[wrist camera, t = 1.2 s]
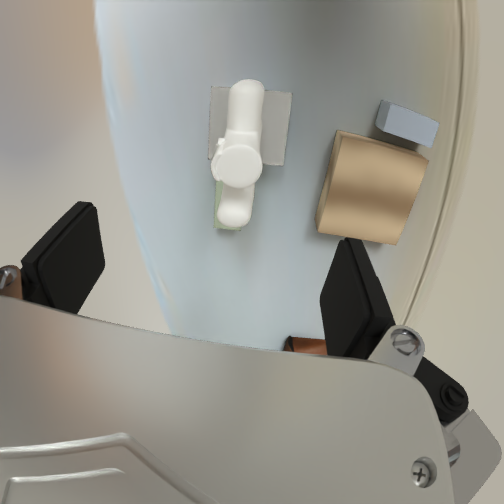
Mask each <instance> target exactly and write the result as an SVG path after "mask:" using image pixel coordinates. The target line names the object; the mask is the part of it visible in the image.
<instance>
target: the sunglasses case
mask: <svg viewBox="0 0 504 504" xmlns="http://www.w3.org/2000/svg"><path fill="white" fill-rule="evenodd" d="M283 351H287V352H296V353H307V354H319V355H327V349H326V342H325V340H323V339H311V338H300V337H291V336H289V337H288V338H287V340H286V343H285V346H284V350H283Z"/></svg>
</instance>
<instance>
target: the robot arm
mask: <svg viewBox="0 0 504 504" xmlns="http://www.w3.org/2000/svg"><path fill="white" fill-rule="evenodd" d="M21 263H22V266H23V267H22V268H21V269H19V268H18V267H17V266H14V265H7V266H3V267H1V268H0V504H468V503H469V501H470V500H471V499H472V498H473V497H474V496H475V494H476V493H477V492H478V491H479V489H480V488H481V487H482V486H483V484H484V483H485V482H486V480H487V479H488V478H489V476H490V475H491V474H492V472H493V471H494V470H495V468H496V466H497V465H498V464H499V462H500V460H501V454H502V452H501V447H500V445H499V443H498V441H497V440H496V439H495V437H494V436H493V435H492V434H491V432H490V431H489V429H488V428H487V427H486V425H485V424H484V423H483V421H482V420H481V419H480V417H479V416H478V415H477V414H476V412H475V411H474V410H473V409H472V410H471V411H469V410H468V408H467V407H468V396H467V393H466V391H465V390H464V388H463V387H462V386H461V385H460V384H459V383H458V382H456V381H455V380H454V379H452V378H451V377H450V376H448V375H447V374H446V373H445V372H443V371H442V370H440V369H439V368H438V367H437V366H435V365H434V364H433V363H431V362H430V361H429V360H427V359H426V358H425V357H423V355H424V351H425V345H424V342H423V340H422V338H421V337H420V335H419V334H418V333H417V332H416V331H415V330H413V329H411V328H409V327H408V326H404V325H396V324H395V321H394V318H393V315H392V313H391V310H390V307H389V304H388V302H387V299H386V296H385V294H384V291H383V288H382V286H381V283H380V281H379V279H378V277H377V276H376V274H375V271H374V269H373V266H372V264H371V261H370V259H369V257H368V254H367V252H366V249H365V247H364V245H363V242H362V240H361V239H356V238H350V237H346V238H345V239H344V240H340V242H339V244H338V247H337V250H336V253H335V255H334V258H333V261H332V264H331V267H330V270H329V272H328V275H327V278H326V281H325V284H324V286H323V289H322V292H321V295H320V307H321V314H322V320H323V327H324V334H325V342H326V349H327V355H319V354H307V353H296V352H287V351H278V350H269V349H260V348H252V347H244V346H237V345H230V344H223V343H216V342H210V341H203V340H197V339H191V338H185V337H180V336H174V335H169V334H163V333H158V332H153V331H148V330H143V329H138V328H133V327H129V326H124V325H119V324H115V323H111V322H106V321H102V320H97V319H93V318H89V317H85V316H81V315H78V314H77V313H78V312H79V310H80V308H81V306H82V305H83V303H84V301H85V300H86V298H87V296H88V295H89V293H90V291H91V290H92V288H93V286H94V285H95V283H96V282H97V280H98V278H99V277H100V275H101V273H102V272H103V270H104V268H105V259H104V253H103V247H102V241H101V235H100V230H99V222H98V215H97V209H96V207H94V206H93V204H92V203H91V202H81V201H79V202H77V203H76V204H75V205H74V206H73V207H72V208H71V209H70V210H69V211H67V212H66V213H65V214H64V215H63V216H62V217H61V218H60V219H59V220H58V221H57V222H56V223H55V224H54V225H53V226H52V228H50V230H49V231H47V233H46V234H45V235H44V236H43V237H42V238H41V239H40V240H39V241H38V242H37V243H36V244H35V245H34V246H33V248H32V249H31V250H30V251H29V252H28V253H27V254H26V255H25V256H24V257H23V259H22V260H21Z"/></svg>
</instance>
